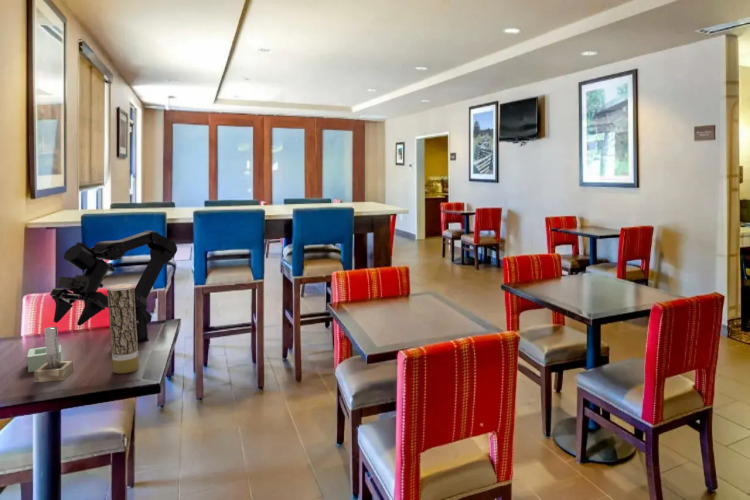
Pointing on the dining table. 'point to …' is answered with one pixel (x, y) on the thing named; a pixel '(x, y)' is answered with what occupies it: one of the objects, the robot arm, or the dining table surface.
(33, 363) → the socket block
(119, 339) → the wooden log
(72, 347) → the dining table surface
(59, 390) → the dining table surface
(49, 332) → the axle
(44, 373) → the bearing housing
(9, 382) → the dining table surface
